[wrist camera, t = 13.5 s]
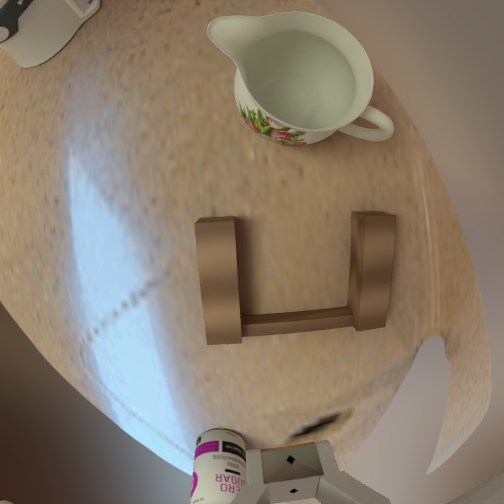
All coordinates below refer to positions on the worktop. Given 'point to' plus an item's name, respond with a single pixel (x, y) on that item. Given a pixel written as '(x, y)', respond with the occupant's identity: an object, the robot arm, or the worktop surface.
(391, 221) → the holder
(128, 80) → the worktop surface
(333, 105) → the pitcher
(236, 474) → the supplement can
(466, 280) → the worktop surface
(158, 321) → the worktop surface
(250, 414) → the worktop surface
